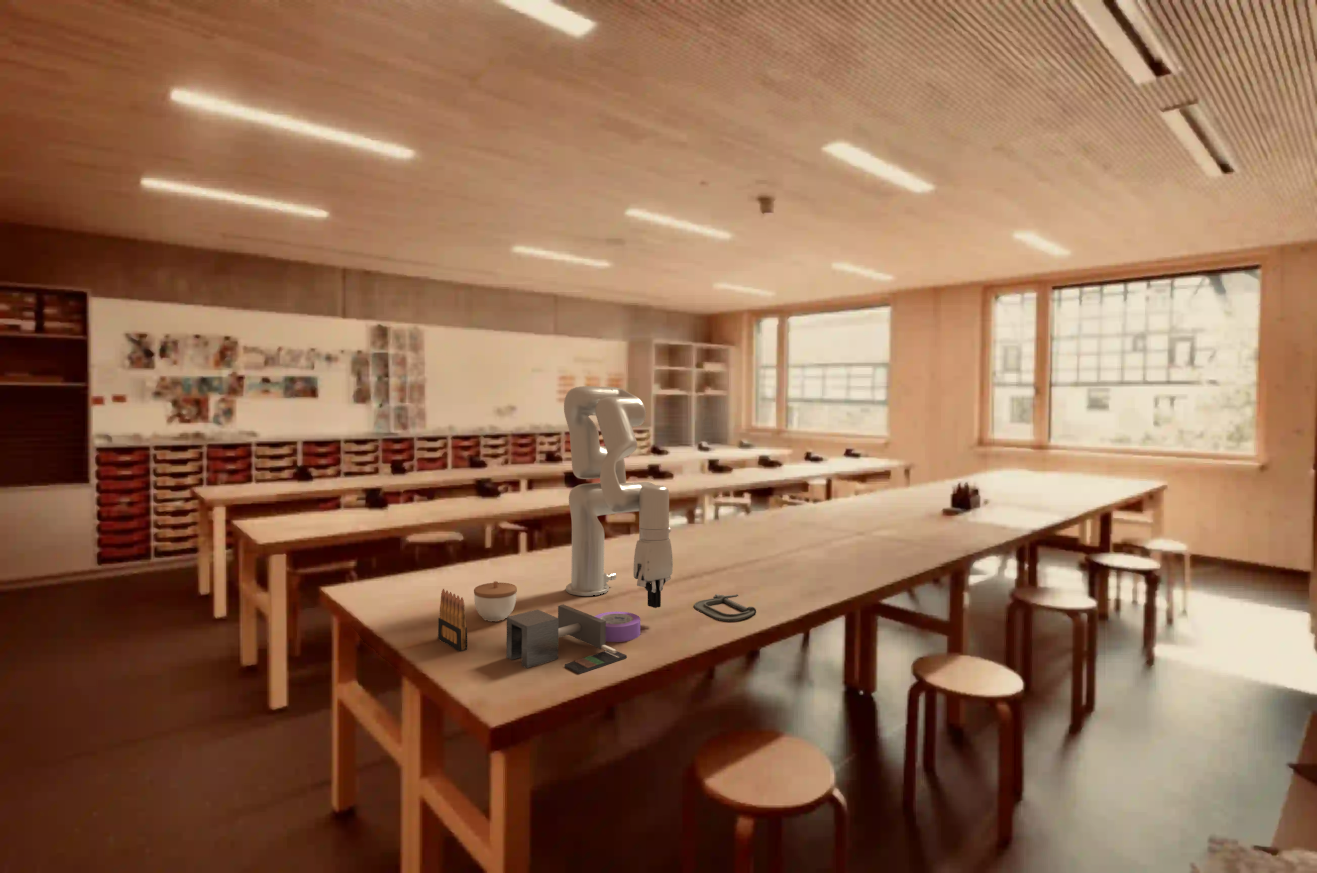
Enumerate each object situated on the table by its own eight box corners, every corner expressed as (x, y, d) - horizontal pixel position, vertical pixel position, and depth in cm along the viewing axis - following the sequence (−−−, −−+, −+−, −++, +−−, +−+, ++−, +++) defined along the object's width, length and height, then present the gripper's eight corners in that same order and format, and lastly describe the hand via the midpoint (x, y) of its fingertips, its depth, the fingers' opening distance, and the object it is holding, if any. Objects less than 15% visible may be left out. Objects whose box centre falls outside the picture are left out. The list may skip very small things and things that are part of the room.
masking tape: (582, 633, 164) (582, 617, 164) (618, 622, 173) (618, 608, 172) (613, 646, 156) (613, 630, 156) (650, 634, 164) (650, 619, 164)
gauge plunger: (563, 628, 163) (563, 604, 163) (617, 652, 149) (618, 625, 148) (506, 644, 152) (506, 618, 152) (559, 671, 138) (560, 642, 138)
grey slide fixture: (578, 636, 161) (578, 599, 161) (626, 657, 149) (627, 617, 148) (506, 657, 148) (506, 616, 147) (553, 682, 135) (553, 638, 135)
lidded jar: (523, 613, 178) (523, 577, 178) (506, 626, 168) (506, 589, 167) (485, 609, 180) (485, 575, 180) (466, 622, 170) (466, 585, 169)
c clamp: (683, 603, 191) (684, 594, 191) (737, 597, 198) (737, 588, 198) (718, 626, 172) (719, 615, 172) (776, 618, 179) (776, 608, 179)
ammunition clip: (437, 639, 158) (437, 588, 158) (445, 637, 160) (445, 587, 159) (460, 652, 151) (460, 598, 150) (467, 649, 152) (467, 597, 151)
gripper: (664, 529, 179) (664, 598, 180) (622, 536, 169) (622, 609, 169) (685, 532, 174) (685, 603, 174) (642, 540, 163) (642, 615, 164)
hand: (654, 606), depth 172 cm, fingers closed
